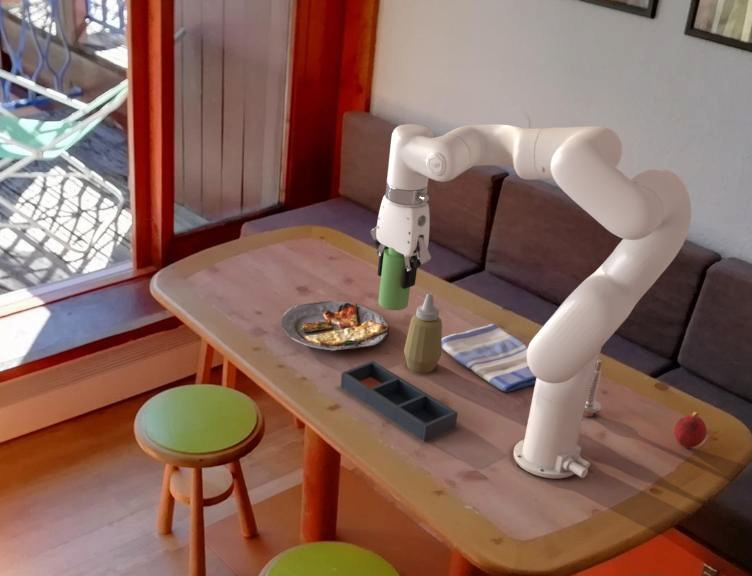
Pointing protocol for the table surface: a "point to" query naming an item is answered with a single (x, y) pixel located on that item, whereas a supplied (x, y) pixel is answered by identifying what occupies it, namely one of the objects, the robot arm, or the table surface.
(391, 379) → the tray
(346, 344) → the food plate
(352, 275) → the table surface
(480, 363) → the dish towel
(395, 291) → the bottle
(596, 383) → the screw
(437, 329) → the squeeze bottle
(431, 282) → the table surface
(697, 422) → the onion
